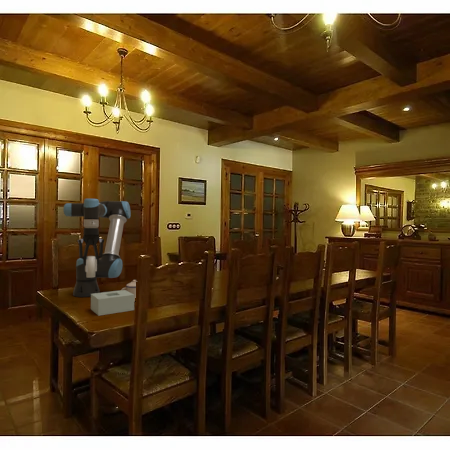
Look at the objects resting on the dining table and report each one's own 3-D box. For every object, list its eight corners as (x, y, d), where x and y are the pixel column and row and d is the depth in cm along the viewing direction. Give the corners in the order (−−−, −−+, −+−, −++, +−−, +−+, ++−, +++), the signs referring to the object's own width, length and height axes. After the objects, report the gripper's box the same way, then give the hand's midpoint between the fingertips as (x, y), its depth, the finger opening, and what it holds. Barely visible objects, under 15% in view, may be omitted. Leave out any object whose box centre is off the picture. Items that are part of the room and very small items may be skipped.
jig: (90, 309, 177) (90, 293, 177) (124, 304, 187) (124, 289, 187) (98, 315, 166) (98, 299, 165) (134, 310, 176) (134, 294, 176)
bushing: (85, 276, 182) (85, 256, 182) (94, 276, 185) (94, 255, 185) (87, 277, 179) (87, 256, 179) (96, 277, 181) (96, 256, 181)
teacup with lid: (143, 298, 202) (143, 278, 202) (140, 302, 193) (140, 281, 193) (122, 298, 201) (123, 278, 201) (119, 302, 192) (119, 281, 192)
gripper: (75, 227, 174) (75, 273, 174) (109, 227, 183) (109, 271, 183) (72, 227, 180) (72, 271, 180) (105, 227, 189) (105, 269, 190)
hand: (90, 271), depth 182 cm, fingers closed on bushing, 4 cm apart
